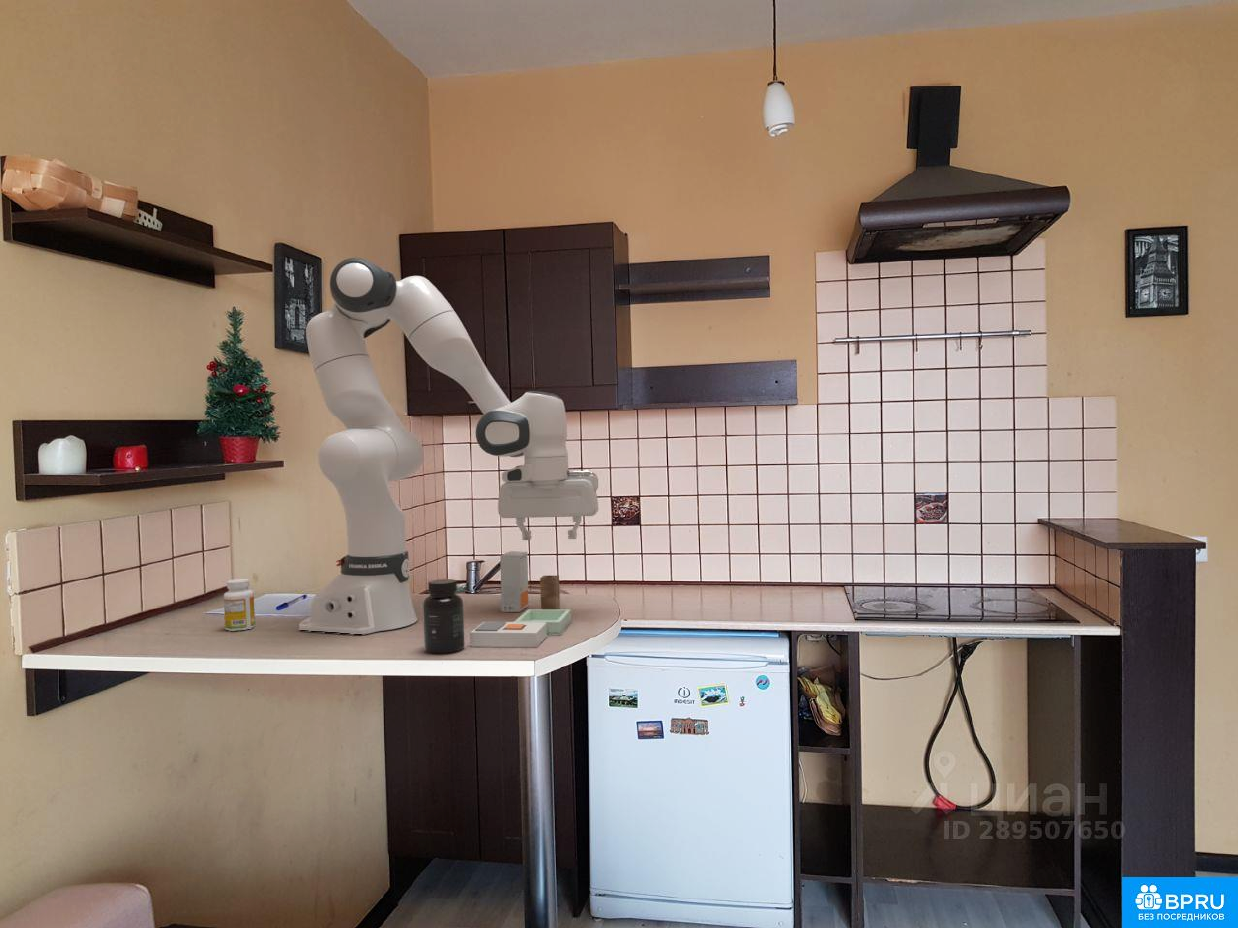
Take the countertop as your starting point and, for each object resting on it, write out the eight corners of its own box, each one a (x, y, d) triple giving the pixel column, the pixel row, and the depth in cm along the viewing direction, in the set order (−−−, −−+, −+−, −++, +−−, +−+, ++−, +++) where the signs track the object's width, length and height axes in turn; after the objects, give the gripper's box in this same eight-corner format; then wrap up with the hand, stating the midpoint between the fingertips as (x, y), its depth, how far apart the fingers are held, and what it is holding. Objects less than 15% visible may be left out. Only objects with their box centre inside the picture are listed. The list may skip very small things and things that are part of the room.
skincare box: (520, 612, 171) (518, 555, 171) (501, 612, 172) (499, 555, 172) (529, 606, 177) (527, 551, 177) (510, 605, 178) (509, 550, 178)
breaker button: (504, 640, 147) (504, 627, 147) (509, 635, 150) (508, 623, 150) (520, 640, 146) (520, 628, 146) (525, 636, 149) (524, 624, 149)
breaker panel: (470, 646, 145) (469, 630, 145) (484, 635, 153) (483, 620, 153) (536, 647, 143) (536, 631, 143) (547, 635, 151) (546, 620, 151)
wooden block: (541, 617, 166) (540, 577, 166) (544, 614, 169) (543, 574, 169) (556, 617, 166) (555, 577, 165) (560, 614, 169) (558, 574, 169)
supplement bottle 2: (416, 651, 142) (413, 583, 142) (443, 642, 148) (441, 576, 148) (445, 656, 139) (443, 586, 138) (472, 646, 145) (470, 579, 144)
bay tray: (514, 635, 152) (513, 621, 152) (528, 621, 163) (528, 609, 163) (559, 635, 151) (559, 622, 151) (571, 621, 162) (570, 609, 162)
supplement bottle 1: (244, 624, 167) (242, 576, 166) (261, 627, 164) (258, 578, 164) (219, 630, 162) (217, 581, 162) (236, 633, 159) (234, 583, 159)
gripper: (600, 468, 168) (602, 536, 168) (502, 472, 171) (505, 538, 171) (594, 470, 162) (597, 540, 162) (494, 473, 165) (497, 542, 165)
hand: (549, 539), depth 167 cm, fingers open, 8 cm apart
